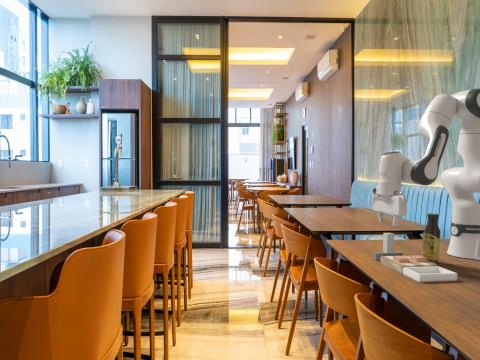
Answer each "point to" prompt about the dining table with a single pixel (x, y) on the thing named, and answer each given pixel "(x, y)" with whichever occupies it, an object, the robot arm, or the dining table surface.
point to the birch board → (398, 266)
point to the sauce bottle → (431, 239)
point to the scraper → (387, 247)
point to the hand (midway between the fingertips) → (388, 224)
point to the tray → (429, 274)
